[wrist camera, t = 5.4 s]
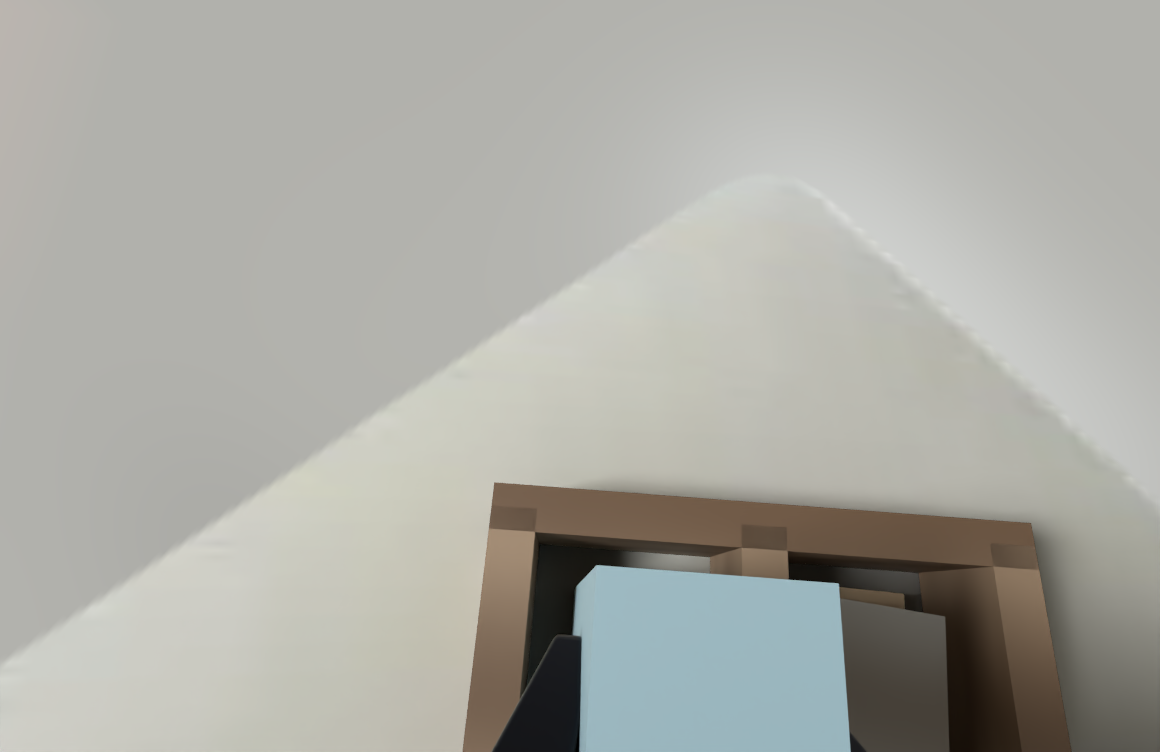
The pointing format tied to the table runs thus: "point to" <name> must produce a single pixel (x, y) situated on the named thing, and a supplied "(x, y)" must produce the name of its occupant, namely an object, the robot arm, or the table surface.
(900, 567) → the rack
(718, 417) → the table surface
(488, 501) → the table surface
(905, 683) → the offcut upper
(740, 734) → the pale blue tall box
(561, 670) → the robot arm
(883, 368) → the table surface
